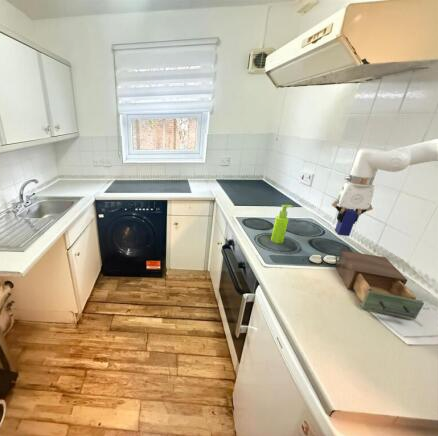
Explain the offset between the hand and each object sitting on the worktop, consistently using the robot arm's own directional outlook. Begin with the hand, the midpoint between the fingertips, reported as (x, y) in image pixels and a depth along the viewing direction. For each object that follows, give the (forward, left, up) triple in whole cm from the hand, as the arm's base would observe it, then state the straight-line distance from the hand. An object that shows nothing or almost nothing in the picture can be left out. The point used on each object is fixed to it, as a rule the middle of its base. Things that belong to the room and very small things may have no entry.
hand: (345, 221), depth 103 cm
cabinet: (-6, +16, -19) cm, 26 cm away
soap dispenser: (+22, -10, -19) cm, 31 cm away
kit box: (0, 0, -6) cm, 6 cm away
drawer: (-6, +30, -18) cm, 35 cm away
